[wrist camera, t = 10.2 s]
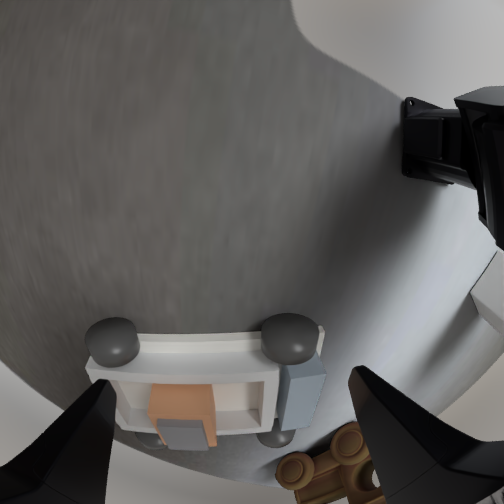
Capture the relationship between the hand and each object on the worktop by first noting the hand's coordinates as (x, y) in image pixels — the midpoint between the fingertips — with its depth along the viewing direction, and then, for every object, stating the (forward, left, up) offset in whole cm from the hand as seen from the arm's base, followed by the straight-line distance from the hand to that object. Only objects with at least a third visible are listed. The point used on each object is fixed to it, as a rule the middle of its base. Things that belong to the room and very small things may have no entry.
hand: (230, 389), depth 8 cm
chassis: (+2, +14, -12) cm, 18 cm away
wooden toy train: (-16, +35, -12) cm, 40 cm away
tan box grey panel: (+4, +14, -11) cm, 18 cm away
